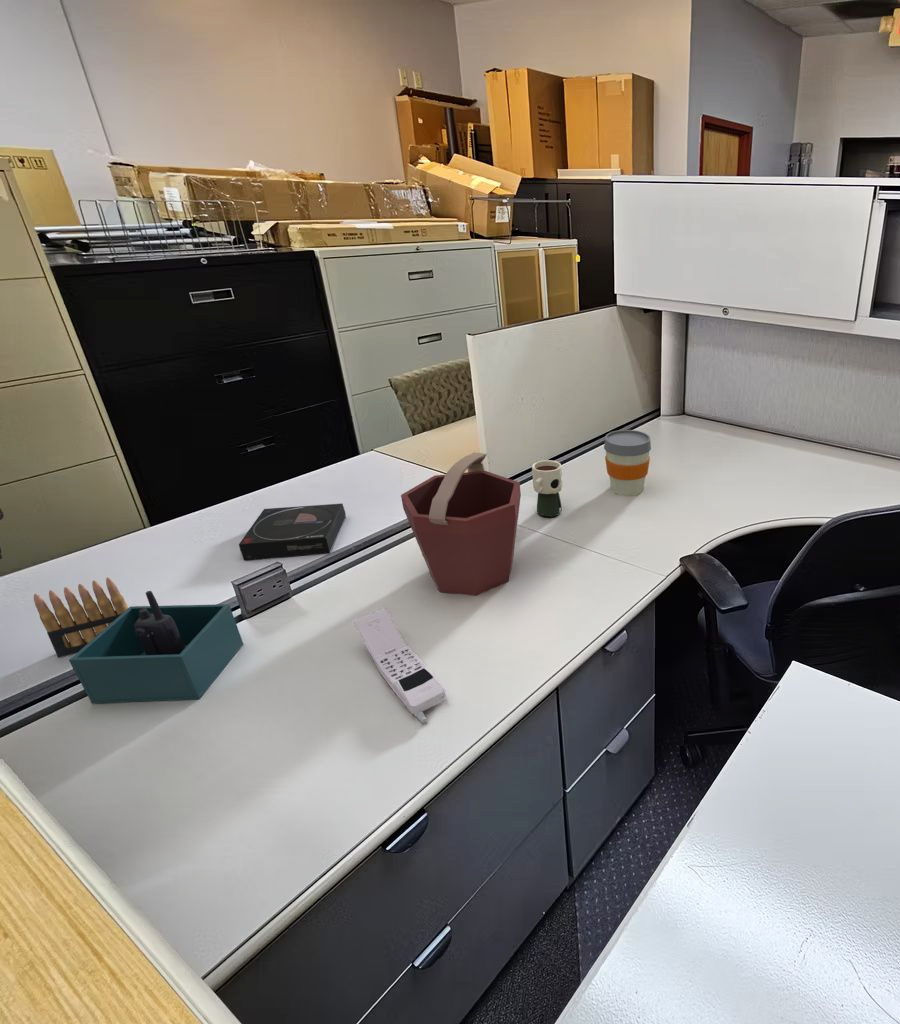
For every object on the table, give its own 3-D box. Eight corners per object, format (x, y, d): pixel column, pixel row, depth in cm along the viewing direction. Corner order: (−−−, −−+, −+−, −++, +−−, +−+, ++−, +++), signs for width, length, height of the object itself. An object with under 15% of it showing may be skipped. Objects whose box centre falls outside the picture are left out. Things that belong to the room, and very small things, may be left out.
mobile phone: (385, 605, 109) (450, 679, 94) (392, 632, 112) (456, 708, 96) (349, 620, 105) (411, 699, 90) (357, 647, 108) (418, 728, 93)
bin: (91, 703, 94) (68, 660, 90) (148, 647, 106) (130, 606, 102) (199, 699, 96) (181, 656, 92) (243, 644, 107) (229, 603, 103)
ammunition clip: (140, 629, 109) (115, 573, 104) (140, 635, 108) (114, 578, 103) (59, 651, 104) (27, 592, 98) (57, 657, 102) (25, 598, 97)
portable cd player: (346, 517, 149) (342, 502, 147) (330, 553, 134) (326, 537, 132) (269, 522, 145) (265, 507, 143) (244, 560, 130) (238, 544, 128)
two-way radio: (197, 661, 102) (166, 586, 95) (176, 680, 98) (142, 603, 91) (164, 659, 102) (131, 584, 95) (142, 678, 98) (106, 601, 91)
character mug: (552, 525, 150) (549, 476, 144) (526, 519, 152) (522, 471, 146) (571, 506, 159) (570, 459, 153) (547, 501, 161) (544, 455, 155)
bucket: (466, 536, 143) (452, 434, 132) (551, 554, 138) (544, 451, 126) (391, 592, 123) (368, 478, 111) (488, 617, 117) (474, 500, 105)
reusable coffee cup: (596, 492, 167) (595, 440, 160) (618, 476, 177) (618, 426, 170) (637, 502, 163) (638, 449, 156) (657, 484, 173) (659, 434, 166)
